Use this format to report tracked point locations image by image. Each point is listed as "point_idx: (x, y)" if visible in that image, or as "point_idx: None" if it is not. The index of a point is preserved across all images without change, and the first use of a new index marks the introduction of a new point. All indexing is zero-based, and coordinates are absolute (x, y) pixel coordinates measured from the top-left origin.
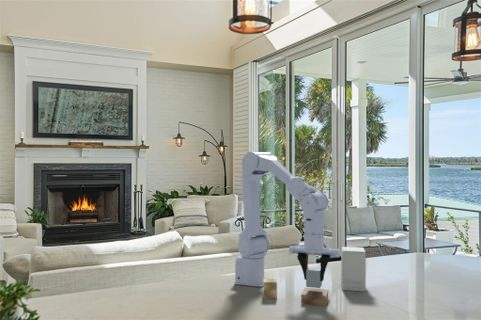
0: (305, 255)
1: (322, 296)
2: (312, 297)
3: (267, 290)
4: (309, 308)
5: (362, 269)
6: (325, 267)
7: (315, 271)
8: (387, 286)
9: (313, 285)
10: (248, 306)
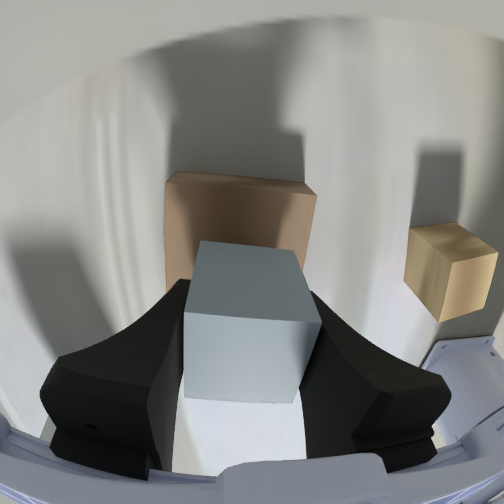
0: (362, 450)
1: (186, 184)
2: (247, 185)
3: (462, 238)
4: (260, 118)
5: (50, 432)
6: (121, 332)
7: (230, 310)
8: (40, 405)
9: (244, 251)
10: (496, 125)
